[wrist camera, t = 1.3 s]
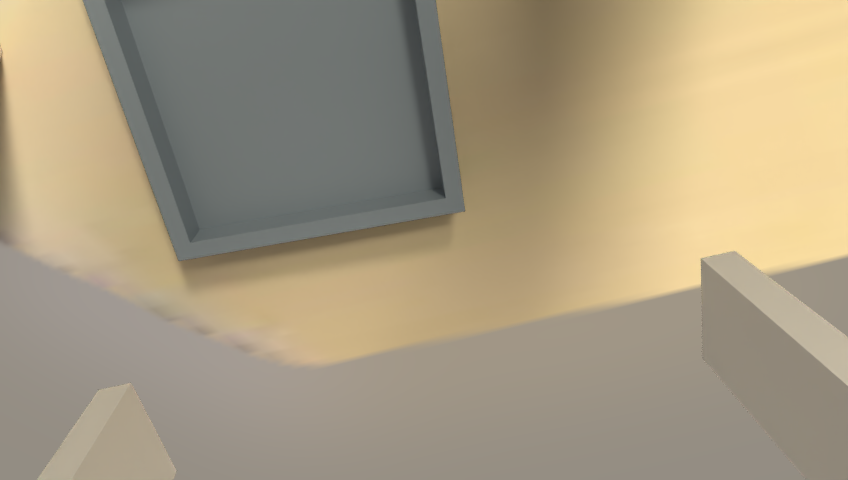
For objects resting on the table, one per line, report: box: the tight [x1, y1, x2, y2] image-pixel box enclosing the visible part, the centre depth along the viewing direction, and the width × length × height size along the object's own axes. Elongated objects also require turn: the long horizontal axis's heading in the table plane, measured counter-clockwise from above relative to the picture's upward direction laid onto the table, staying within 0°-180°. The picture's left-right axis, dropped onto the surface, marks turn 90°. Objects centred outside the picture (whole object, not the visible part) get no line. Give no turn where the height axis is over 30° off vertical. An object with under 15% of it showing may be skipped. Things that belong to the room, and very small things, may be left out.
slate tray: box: [83, 0, 465, 261], centre depth 32 cm, size 17×17×3 cm
